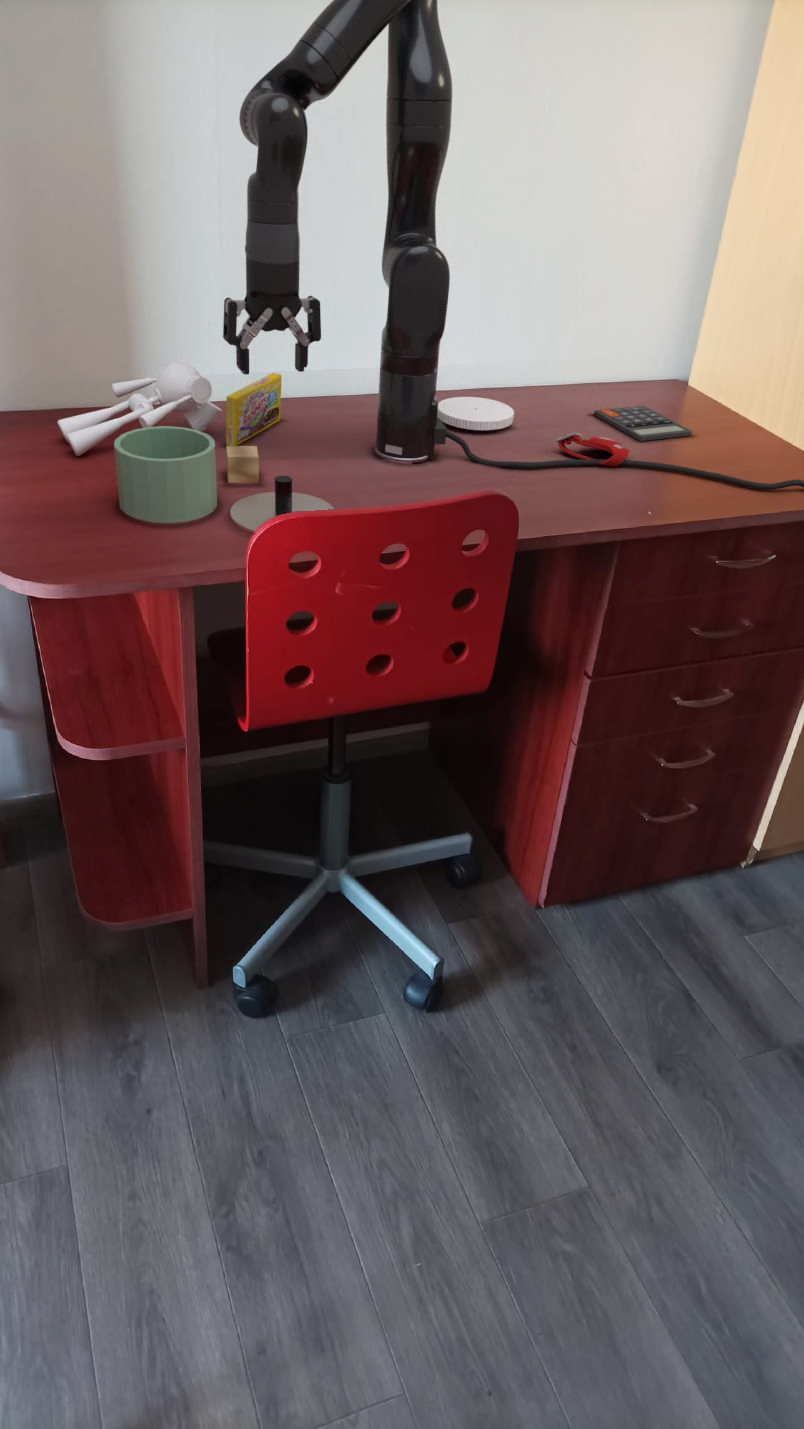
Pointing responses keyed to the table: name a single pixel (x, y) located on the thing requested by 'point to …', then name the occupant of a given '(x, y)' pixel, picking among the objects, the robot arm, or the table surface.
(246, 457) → the block
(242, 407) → the candy box
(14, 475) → the table surface
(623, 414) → the calculator
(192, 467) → the tin
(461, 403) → the plastic lid
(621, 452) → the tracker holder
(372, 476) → the table surface
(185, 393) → the toy robot
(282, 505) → the lid
